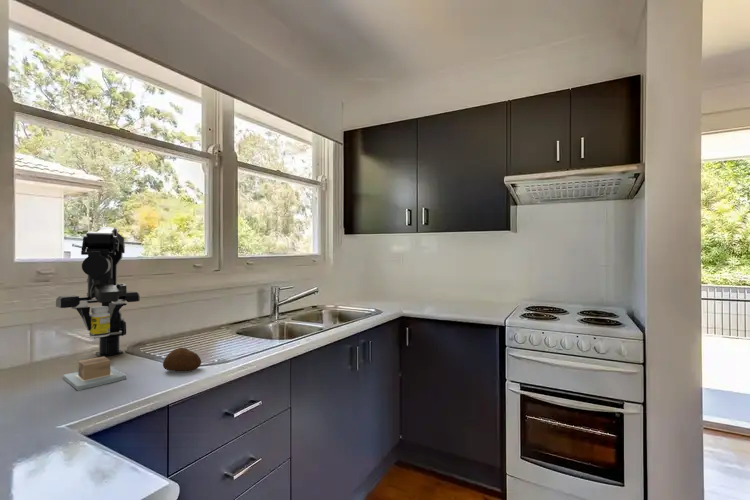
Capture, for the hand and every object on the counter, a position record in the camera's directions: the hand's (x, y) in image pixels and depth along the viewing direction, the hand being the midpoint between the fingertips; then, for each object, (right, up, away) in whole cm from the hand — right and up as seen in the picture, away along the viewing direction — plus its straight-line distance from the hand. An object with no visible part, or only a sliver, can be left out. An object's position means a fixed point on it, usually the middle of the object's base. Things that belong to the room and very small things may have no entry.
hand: (99, 329), depth 106 cm
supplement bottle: (0, -2, 0) cm, 2 cm away
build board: (0, -14, -2) cm, 14 cm away
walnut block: (0, -12, -2) cm, 13 cm away
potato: (+21, -14, +5) cm, 26 cm away
